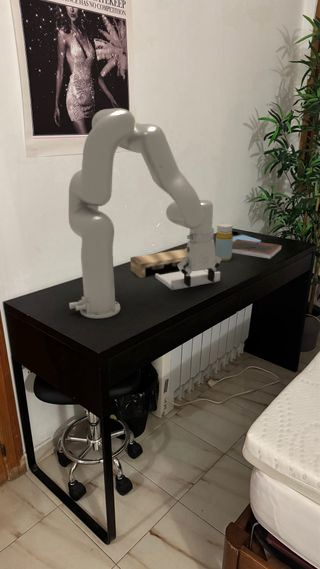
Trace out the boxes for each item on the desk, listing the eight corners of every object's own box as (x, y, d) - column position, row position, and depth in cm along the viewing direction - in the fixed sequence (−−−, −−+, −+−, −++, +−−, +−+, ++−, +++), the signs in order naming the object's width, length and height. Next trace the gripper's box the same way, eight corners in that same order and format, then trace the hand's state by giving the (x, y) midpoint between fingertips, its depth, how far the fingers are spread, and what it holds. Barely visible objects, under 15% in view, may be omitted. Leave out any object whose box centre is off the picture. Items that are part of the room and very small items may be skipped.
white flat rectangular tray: (172, 290, 145) (172, 281, 144) (155, 277, 157) (155, 269, 156) (219, 281, 153) (220, 272, 152) (200, 269, 165) (200, 261, 164)
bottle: (229, 262, 173) (231, 227, 168) (213, 260, 175) (215, 226, 170) (232, 257, 179) (234, 223, 174) (216, 256, 182) (218, 222, 176)
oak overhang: (140, 277, 157) (140, 264, 155) (130, 270, 165) (130, 257, 163) (207, 266, 169) (207, 253, 167) (195, 259, 177) (195, 247, 175)
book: (223, 252, 188) (269, 259, 178) (223, 246, 188) (270, 254, 177) (237, 243, 202) (280, 250, 191) (237, 238, 201) (281, 244, 190)
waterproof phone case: (261, 243, 203) (262, 240, 202) (244, 246, 197) (244, 244, 196) (242, 237, 213) (242, 234, 213) (225, 240, 207) (225, 238, 207)
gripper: (183, 242, 135) (183, 291, 141) (228, 236, 141) (225, 282, 148) (173, 237, 141) (173, 283, 147) (216, 231, 148) (214, 276, 154)
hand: (199, 283), depth 147 cm, fingers open, 9 cm apart
